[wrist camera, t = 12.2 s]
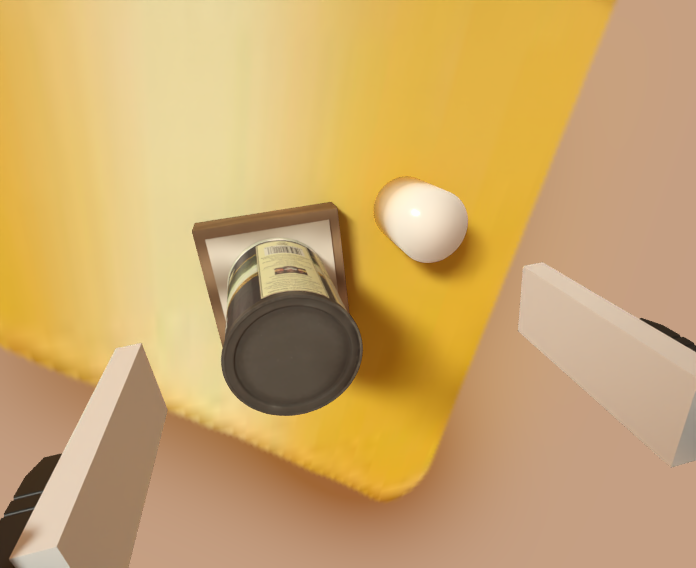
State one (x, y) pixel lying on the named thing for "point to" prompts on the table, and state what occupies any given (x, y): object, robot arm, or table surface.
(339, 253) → the picture frame
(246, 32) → the table surface
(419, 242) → the cream egg shape
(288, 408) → the coffee can
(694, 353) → the robot arm
